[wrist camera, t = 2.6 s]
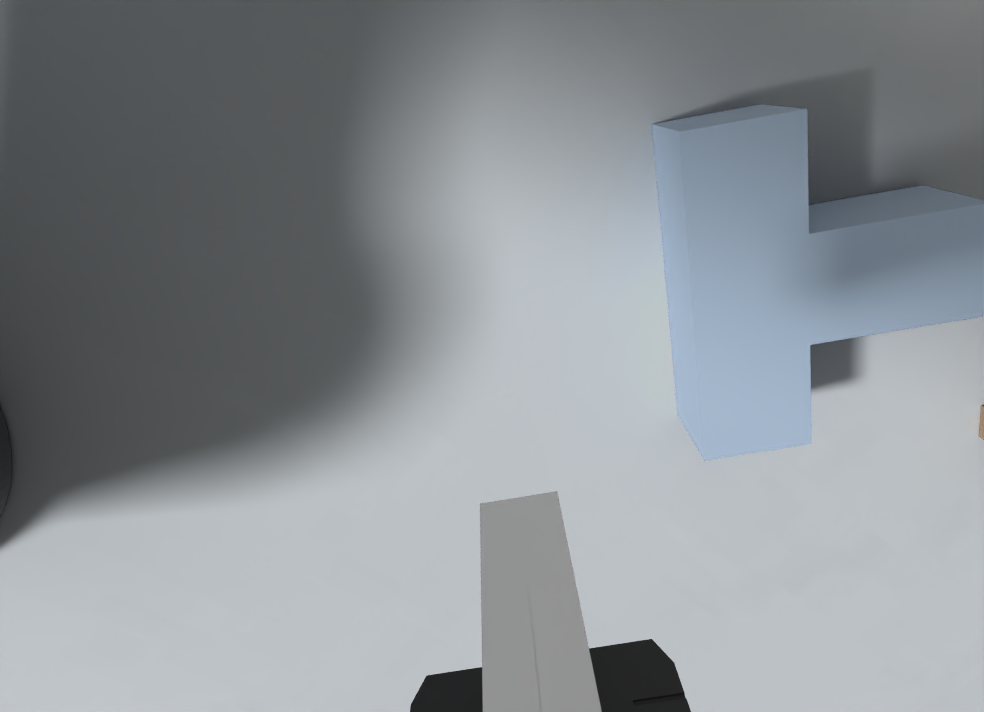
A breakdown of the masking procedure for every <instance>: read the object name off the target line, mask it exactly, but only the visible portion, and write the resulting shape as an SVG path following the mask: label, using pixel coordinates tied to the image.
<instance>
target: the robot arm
mask: <svg viewBox="0 0 984 712" xmlns="http://www.w3.org/2000/svg"><path fill="white" fill-rule="evenodd" d="M11 474H12V458H11V447H10V441H9V436H8V432H7V428H6V424H5V421H4V418H3V415H2V413H1V410H0V515H1V513H2V511H3V508H4V506H5V503H6V500H7V497H8V493H9V488H10V483H11ZM480 543H481V616H482V667H480V668H474V669H467V670H460V671H454V672H447V673H441V674H434V675H428V676H426V678H425V680H424V682H423V683H422V685H421V687H420V689H419V691H418V693H417V694H416V696H415V698H414V700H413V702H412V704H411V709H410V712H691V711H690V708H689V705H688V702H687V699H686V698H685V694H684V690H683V688H682V685H681V682H680V679H679V676H678V673H677V670H676V667H675V664H674V662H673V661H672V660H671V659H670V658H669V657H668V656H667V655H666V654H665V653H664V652H663V651H662V649H661V648H660V647H659V646H658V645H657V644H656V643H655V642H654V641H653V640H652V639H649V640H642V641H636V642H629V643H623V644H616V645H610V646H603V647H597V648H590V649H589V647H588V642H587V637H586V632H585V627H584V622H583V617H582V612H581V607H580V602H579V597H578V592H577V587H576V582H575V577H574V572H573V567H572V563H571V558H570V553H569V548H568V543H567V538H566V533H565V528H564V523H563V518H562V513H561V508H560V503H559V498H558V493H557V491H556V492H550V493H543V494H537V495H531V496H525V497H519V498H513V499H507V500H500V501H494V502H488V503H482V504H480Z"/></svg>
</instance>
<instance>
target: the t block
mask: <svg viewBox="0 0 984 712" xmlns="http://www.w3.org/2000/svg"><path fill="white" fill-rule="evenodd" d="M652 132H653V143H654V155H655V166H656V178H657V189H658V200H659V212H660V223H661V234H662V246H663V257H664V269H665V280H666V291H667V303H668V314H669V326H670V337H671V348H672V360H673V371H674V382H675V394H676V405H677V415H678V417H679V418H680V420H681V422H682V424H683V425H684V427H685V429H686V430H687V432H688V434H689V436H690V437H691V439H692V441H693V442H694V444H695V446H696V448H697V449H698V451H699V453H700V454H701V456H702V458H703V460H704V461H706V460H713V459H719V458H725V457H732V456H738V455H744V454H750V453H757V452H763V451H769V450H776V449H782V448H788V447H795V446H801V445H807V444H811V365H810V345H813V344H819V343H825V342H831V341H837V340H843V339H849V338H855V337H861V336H867V335H873V334H880V333H886V332H892V331H898V330H904V329H910V328H916V327H922V326H928V325H934V324H940V323H946V322H952V321H958V320H965V319H971V318H977V317H983V315H984V200H981V199H977V198H973V197H969V196H965V195H961V194H956V193H952V192H948V191H944V190H940V189H936V188H932V187H928V186H924V185H921V186H915V187H909V188H904V189H898V190H892V191H886V192H881V193H875V194H869V195H863V196H858V197H852V198H846V199H840V200H835V201H829V202H823V203H817V204H812V205H809V198H808V114H807V109H805V108H794V107H784V106H774V105H764V104H759V105H754V106H748V107H743V108H737V109H732V110H726V111H721V112H715V113H710V114H704V115H699V116H693V117H688V118H682V119H677V120H672V121H666V122H661V123H655V124H652Z"/></svg>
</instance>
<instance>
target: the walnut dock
mask: <svg viewBox="0 0 984 712" xmlns="http://www.w3.org/2000/svg"><path fill="white" fill-rule="evenodd" d="M979 437H981V438H982V439H983V440H984V405H983V406H981V417H980V429H979Z"/></svg>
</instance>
